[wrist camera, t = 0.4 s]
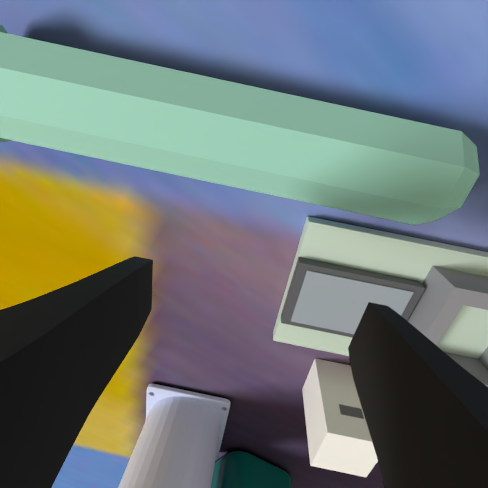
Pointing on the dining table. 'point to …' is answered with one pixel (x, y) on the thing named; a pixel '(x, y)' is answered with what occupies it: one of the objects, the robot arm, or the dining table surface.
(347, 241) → the outlet plate
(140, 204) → the dining table surface
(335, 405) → the block
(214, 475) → the green bottle
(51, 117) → the container
